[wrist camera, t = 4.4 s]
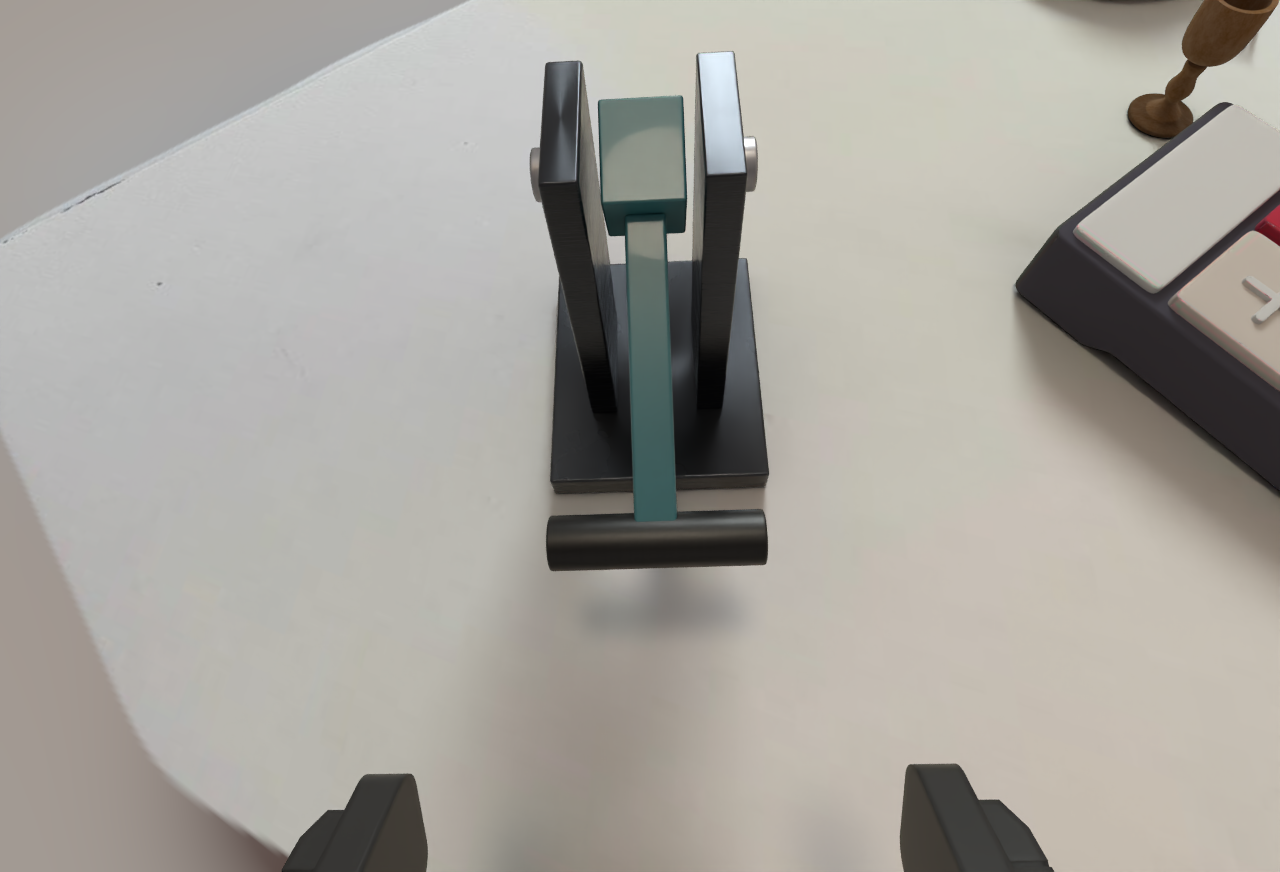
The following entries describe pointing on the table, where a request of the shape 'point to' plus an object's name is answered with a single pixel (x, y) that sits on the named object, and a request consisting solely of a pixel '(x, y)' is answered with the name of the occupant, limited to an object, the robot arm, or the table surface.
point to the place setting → (1200, 60)
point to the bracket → (698, 300)
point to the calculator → (1184, 278)
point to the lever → (650, 363)
